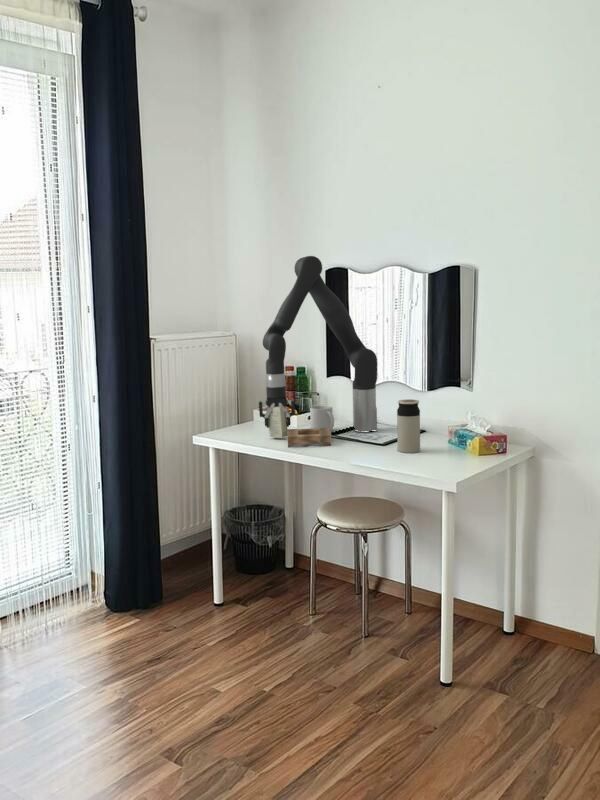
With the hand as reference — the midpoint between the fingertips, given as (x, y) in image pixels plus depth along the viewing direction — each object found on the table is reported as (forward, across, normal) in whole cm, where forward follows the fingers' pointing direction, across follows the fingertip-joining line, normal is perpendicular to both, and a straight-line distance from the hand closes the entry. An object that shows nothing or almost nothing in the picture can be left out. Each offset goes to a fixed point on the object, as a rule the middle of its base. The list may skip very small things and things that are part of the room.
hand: (277, 426), depth 311 cm
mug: (+5, -18, -10) cm, 21 cm away
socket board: (+5, -12, +9) cm, 16 cm away
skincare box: (+4, 0, 0) cm, 4 cm away
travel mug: (+5, -47, +28) cm, 55 cm away
